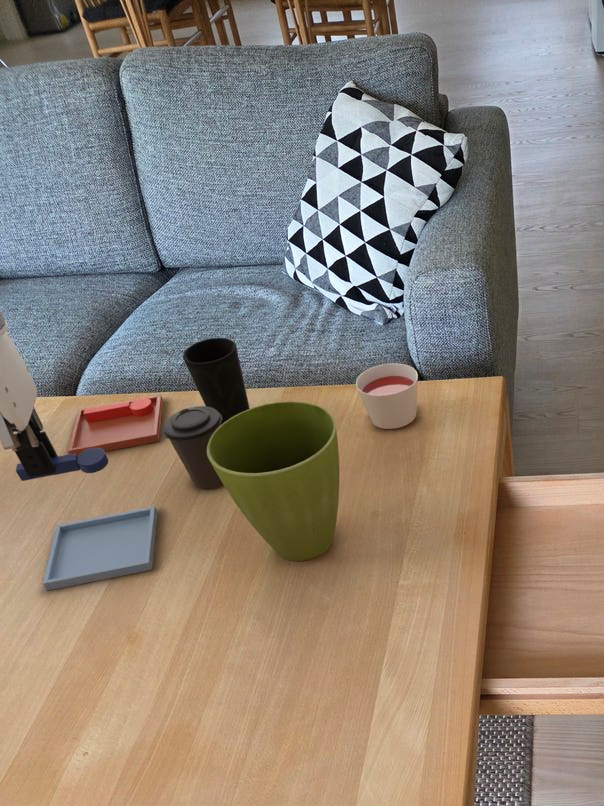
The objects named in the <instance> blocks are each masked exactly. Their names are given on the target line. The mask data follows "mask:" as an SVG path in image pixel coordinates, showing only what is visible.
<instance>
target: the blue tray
mask: <svg viewBox="0 0 604 806" xmlns="http://www.w3.org/2000/svg"><path fill="white" fill-rule="evenodd" d="M157 510H158V509H157V508H156V506H149V507H143V508H139V509H134V510H128V511H124V512H118V513H113V514H108V515H102V516H98V517H93V518H87V519H82V520H76V521H72V522H67V523H62V524H61V523H60V524H57V525H55V529H54V530H55V531H54V534H53V539H52V543H51V547H50V551H49V555H48V561H47V564H46V568H45V571H44V577H43V581H42V585H43V587H44V589H45V590H46V591H53V590H57V589H62V588H67V587H71V586H77V585H78V586H79V585H82V584H88V583H92V582H97V581H102V580H108V579H113V578H117V577H122V576H127V575H133V574H137V573H143V572H148V571H152V570H153V565H154V564H153V563H154V556H155V555H154V554H155V545H156V535H157V527H158V518H159V517H158V515H159V512H158V511H157Z"/></svg>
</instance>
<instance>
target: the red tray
mask: <svg viewBox="0 0 604 806" xmlns="http://www.w3.org/2000/svg"><path fill="white" fill-rule="evenodd" d="M142 398H143V397H141V398H140V397H139V398H135V399H130V400H124V401H119V402H113V403H108V404H103V405H97V406H91V407H87V408H82V409H78V410H77V412H76V416H75V421H74V426H73V428H72V432H71V436H70V441H69V445H68V449H67V454H74V453H76V454H77V456H78V455H79V454H80V453H81V452H83V451H84V450H87V449H90V448H101V449H102V450H104V452H110V451H115V450H120V449H124V448H125V449H126V448H131V447H135V446H136V447H137V446H140V445H147V444H151V443H156V442H160V436H161V426H162V417H163V409H164V399H163V396H162V394H157V395H152V396H146V397H145V398H147V399H150V400H151V403H152V405H153V411H152V412H150V413H149V414H147V415H144V416H134V415H133V414H132V415H127V416H122V417H117V418H111V419H106V420H100V421H95V422H90V423H87V420H86V418H85V416H84V410H86V409H91V408H96V407H102V406H107V405H113V404H118V403H123V402H130V404H131V403H132V402H133V401H135V400H138V399H142Z"/></svg>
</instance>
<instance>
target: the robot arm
mask: <svg viewBox="0 0 604 806" xmlns="http://www.w3.org/2000/svg"><path fill="white" fill-rule="evenodd" d="M8 328H9V323H8V321H7V319H6V317H5V316H4V313H3V311H2V310H1V309H0V444H1V445H2V449H3V450H4V451H7V450H12V451H13V452H14V453H15V455H16V457H17V458H18V460H19V463H21V464H22V465H23V467H24V469H25V471H26V472H27V474H28V476H29V477H36V476H42V475H47V474H52V473H55V471H56V467H55V465H54V463H53V461H52V459H51V458H52V457H57V456H59V455H58V453H57V451H56V449H55V448H54V445H53V444H52V441H51V440H50V438H49V436H48V434H47V432H46V430H45V431H44V424H43V423H42V421H41V418H40V417H39V415H38V412H37V411H36V409H35V404H36V400H37V396H38V389H37V385H36V382H35V379H34V378H33V375H32V374H31V371H30V370H29V368H28V365H27V363H26V362H25V360H24V358H23V357H22V354H21V353H20V351H19V349H18V348H17V346H16V344H15V343H14V341H13V339H12V337H11V336H10V334H9V332H8V331H7V330H8ZM15 432H16V433H15Z"/></svg>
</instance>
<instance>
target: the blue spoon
mask: <svg viewBox="0 0 604 806" xmlns="http://www.w3.org/2000/svg"><path fill="white" fill-rule="evenodd" d="M51 459H52V461H53V463H54V465H55V467H56V471H55V473H52V474H47V475H42V476H36V477H29V476H28V474H27V472H26V471H25V469H24V467H23V465H22V464H21V462H19V463H17V464H16V468H15V473H16V474H17V476H18V477H19V479H20V480H21V481H22V482H25V481H31V480H35V479H41V478H46V477H51V476H56V475H62V474H66V473H68V474H69V473H72V472H78V471H81V472H83V473H84V474H94V473H98V472H100V471H102V470H103V469H105V468H106V467H107V466H108V464H109V458H108V456H107V454H106V451H104V450H102V449H101V448H90V449H87V450H84V451H83V452H81V453H80V454H79V455H78V456H77V454H76V453H74V454H69V453H67V454H63V455H58V456H57V457H52V458H51Z"/></svg>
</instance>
